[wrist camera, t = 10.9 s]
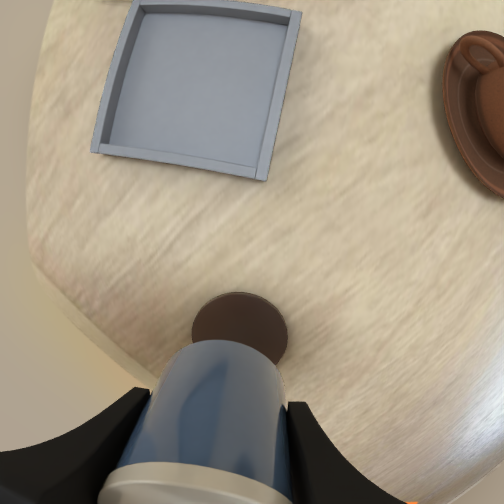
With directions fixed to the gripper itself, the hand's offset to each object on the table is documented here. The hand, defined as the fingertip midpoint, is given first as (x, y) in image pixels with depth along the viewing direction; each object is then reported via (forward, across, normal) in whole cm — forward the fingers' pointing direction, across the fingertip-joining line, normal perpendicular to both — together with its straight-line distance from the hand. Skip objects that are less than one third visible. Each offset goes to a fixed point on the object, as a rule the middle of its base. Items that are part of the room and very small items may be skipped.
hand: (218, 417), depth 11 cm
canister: (+2, 0, 0) cm, 2 cm away
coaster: (+9, 0, +1) cm, 9 cm away
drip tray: (+9, +3, -14) cm, 17 cm away
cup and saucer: (+9, -18, -15) cm, 25 cm away
